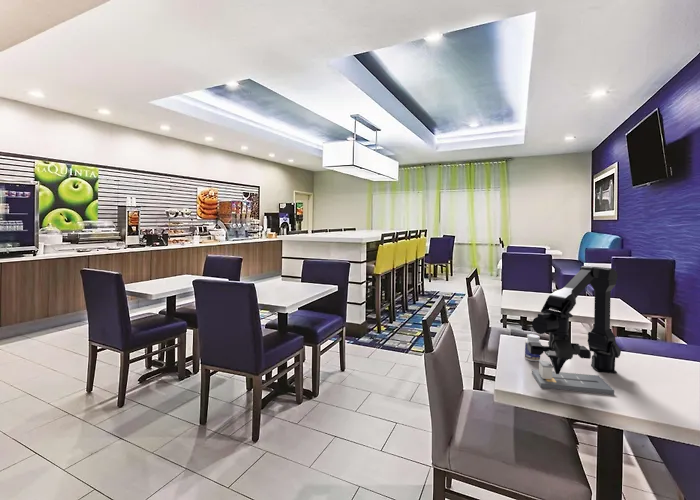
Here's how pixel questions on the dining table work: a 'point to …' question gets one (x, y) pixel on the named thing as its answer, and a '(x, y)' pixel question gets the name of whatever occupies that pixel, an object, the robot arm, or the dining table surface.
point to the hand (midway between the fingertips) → (556, 373)
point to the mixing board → (574, 382)
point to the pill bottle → (527, 354)
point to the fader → (545, 369)
